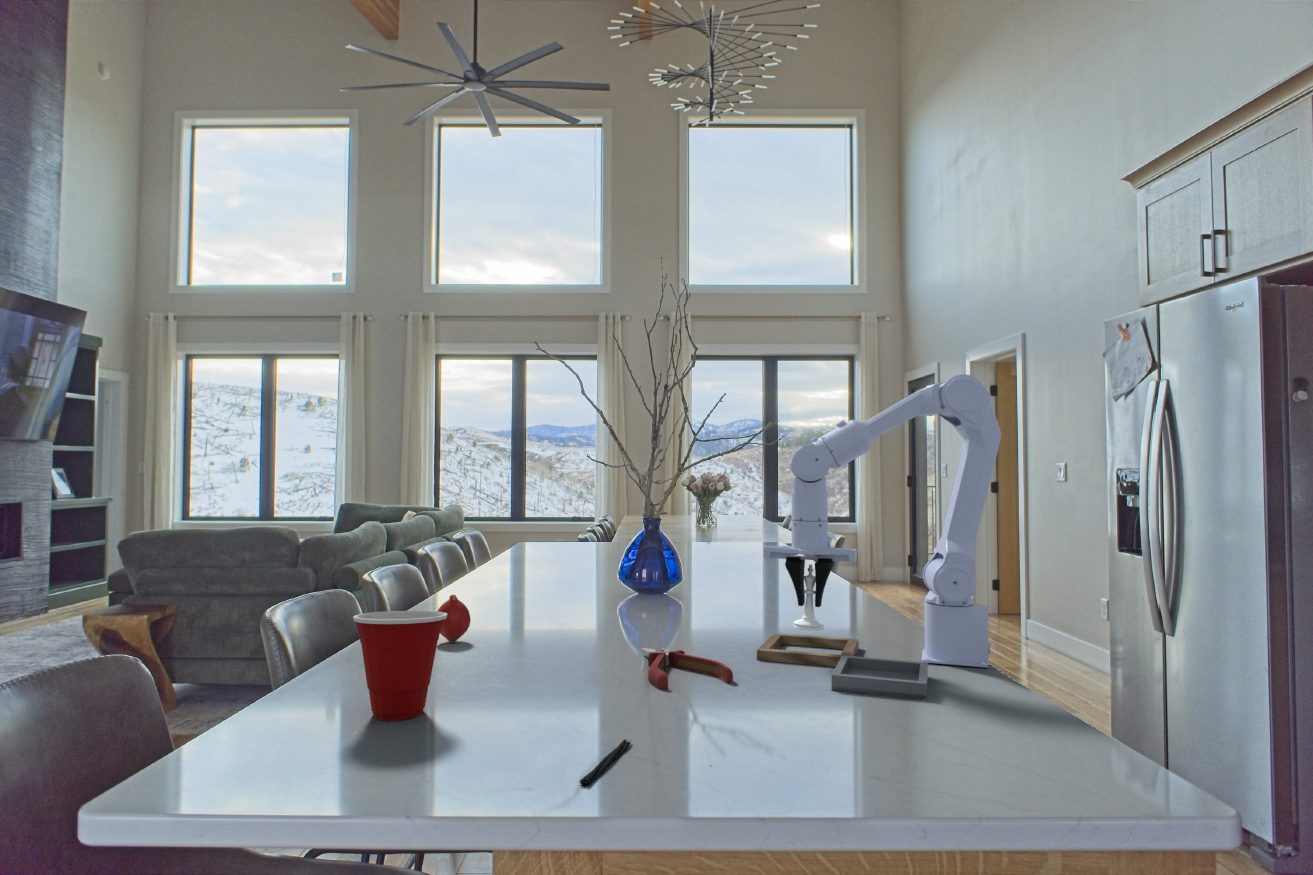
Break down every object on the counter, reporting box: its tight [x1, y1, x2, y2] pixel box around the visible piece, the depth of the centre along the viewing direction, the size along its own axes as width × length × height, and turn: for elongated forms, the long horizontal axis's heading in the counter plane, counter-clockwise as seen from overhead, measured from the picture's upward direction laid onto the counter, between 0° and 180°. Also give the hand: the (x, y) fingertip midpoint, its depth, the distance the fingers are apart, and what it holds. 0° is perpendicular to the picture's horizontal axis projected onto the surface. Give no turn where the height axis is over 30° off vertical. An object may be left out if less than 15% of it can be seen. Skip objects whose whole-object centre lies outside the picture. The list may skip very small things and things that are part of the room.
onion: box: [436, 594, 472, 643], centre depth 134 cm, size 6×6×8 cm
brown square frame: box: [756, 632, 860, 668], centre depth 127 cm, size 14×14×2 cm
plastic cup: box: [352, 610, 447, 722], centre depth 95 cm, size 11×11×12 cm
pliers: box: [640, 647, 734, 690], centre depth 117 cm, size 12×20×3 cm, turn 20°
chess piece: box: [792, 564, 825, 631], centre depth 127 cm, size 5×5×10 cm
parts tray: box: [831, 655, 929, 700], centre depth 110 cm, size 12×12×2 cm
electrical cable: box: [579, 738, 633, 788], centre depth 79 cm, size 12×1×1 cm, turn 162°
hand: (809, 605), depth 127 cm, fingers closed on chess piece
